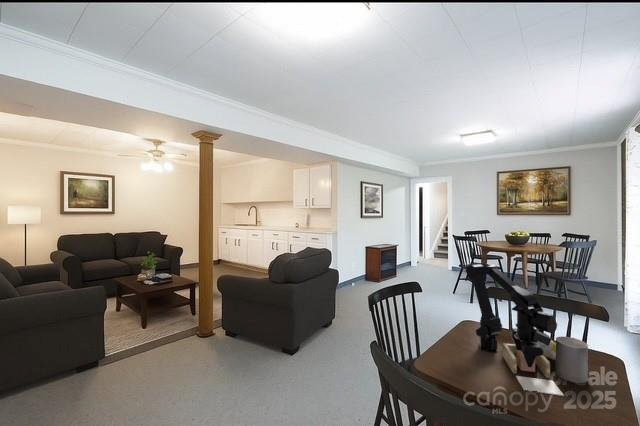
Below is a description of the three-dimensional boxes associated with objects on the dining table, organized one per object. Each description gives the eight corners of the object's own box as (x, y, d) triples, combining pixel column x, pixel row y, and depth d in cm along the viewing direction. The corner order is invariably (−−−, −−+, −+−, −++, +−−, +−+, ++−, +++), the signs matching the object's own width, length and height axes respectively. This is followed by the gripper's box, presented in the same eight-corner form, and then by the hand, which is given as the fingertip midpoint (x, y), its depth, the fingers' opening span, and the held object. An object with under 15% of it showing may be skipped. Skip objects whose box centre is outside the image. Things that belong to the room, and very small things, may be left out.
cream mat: (524, 390, 107) (524, 389, 107) (515, 376, 116) (515, 375, 116) (564, 396, 104) (564, 395, 104) (552, 381, 112) (552, 380, 112)
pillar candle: (552, 367, 122) (552, 331, 122) (583, 372, 118) (583, 335, 117) (558, 379, 113) (558, 341, 113) (592, 386, 109) (592, 346, 109)
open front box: (513, 373, 118) (513, 358, 118) (503, 356, 131) (503, 343, 131) (550, 378, 114) (549, 362, 114) (535, 360, 128) (535, 346, 127)
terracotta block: (520, 370, 120) (520, 355, 120) (516, 364, 125) (516, 349, 125) (535, 372, 119) (535, 357, 119) (530, 365, 124) (530, 351, 124)
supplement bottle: (555, 340, 132) (542, 329, 127) (565, 354, 126) (552, 343, 121) (540, 347, 134) (527, 336, 129) (550, 361, 129) (537, 351, 124)
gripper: (559, 335, 110) (559, 376, 111) (539, 317, 128) (539, 353, 129) (525, 332, 114) (525, 372, 114) (509, 315, 132) (509, 350, 132)
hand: (525, 361), depth 122 cm, fingers open, 9 cm apart
